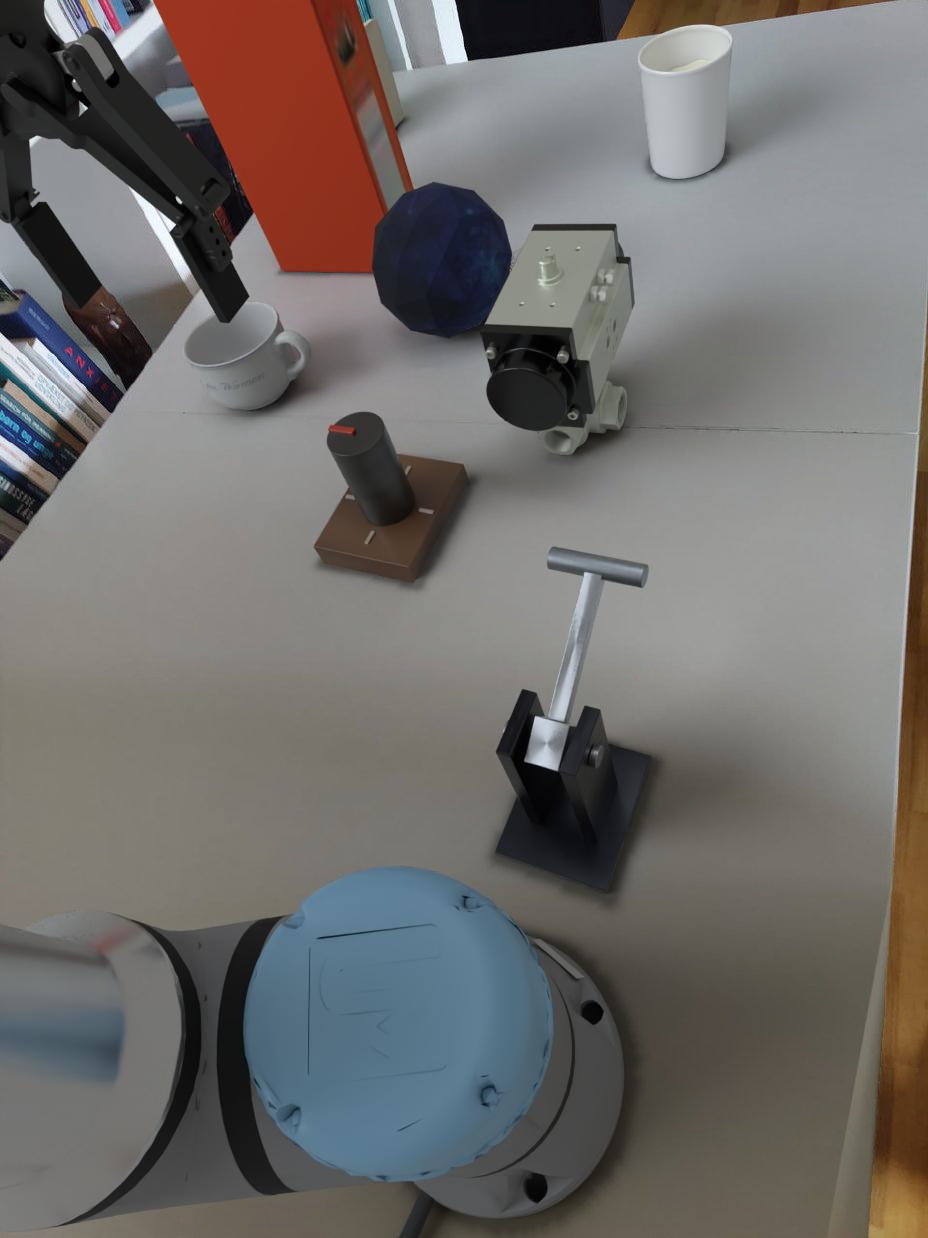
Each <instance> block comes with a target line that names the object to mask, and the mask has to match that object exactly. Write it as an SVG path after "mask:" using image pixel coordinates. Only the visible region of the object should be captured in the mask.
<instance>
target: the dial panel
mask: <svg viewBox="0 0 928 1238" xmlns="http://www.w3.org/2000/svg"><path fill="white" fill-rule="evenodd" d="M397 455H398V457H399V459H400V462H401V464H402V466H403V469H404V471H405V473H406V476H407V478H408V480H409V483H410V485H411V487H412V490H413V492H414V494H415V503H414V506H413V508H412V510H411V512H410V513H409V514H408V515H407V516H406V517H405V518H404V519H402V520H400V521H399V522H397V523H394V524H391V525H385V526H379V525H374V524H372V523H370V522H368V521H367V520H366V519H365V517H364V516H363V514H362V512H361V510H360V508H359V506H358V504H357V502H356V500H355V498H354V496H353V494H352V492H351V490H350V489H349V487H347V490H346V491H345V493H344V494H343V496H342V498H341V499H340V501H339V503H338V504H337V505H336V507H335V509H334V511H333V513H332V514H331V516H330V517H329V519H328V521H327V523H326V524H325V526H324V528H323V529H322V531H321V532H320V534H319V536H318V538H317V539H316V541H315V543H314V544H313V546H312V547H313V549H314V550H315V552H316V553H317V555H318V556H319V558H320V560H321V561H322V564H323V563H324V564H327V565H332V566H337V567H339V568H340V567H342V568H346V569H349V570H353V571H354V570H355V571H358V572H364V573H367V574H372V575H376V576H381V577H384V578H390V579H395V580H399V581H403V582H408V583H412V584H414V583H415V582H416V580H417V578H418V575H419V574H420V572H421V570H422V568H423V567H424V564H425V562H426V561H427V559H428V557H429V555H430V554H431V553H430V552H431V551H432V549H433V547H434V545H435V543H436V541H437V540H438V538H439V535H440V533H441V532H442V530H443V528H444V526H445V524H446V523H447V520H448V518H449V517H450V515H451V512H452V510H453V509H454V507H455V505H456V503H457V501H458V499H459V497H460V495H461V494H462V491H463V489H464V488H465V487H469V485H470V479H469V476H468V471H467V470H466V467H465V463H460V462H453V461H448V460H442V459H441V460H440V459H436V458H435V459H434V458H428V457H423V456H416V455H409V454H402V453H397Z"/></svg>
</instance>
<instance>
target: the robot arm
mask: <svg viewBox="0 0 928 1238" xmlns="http://www.w3.org/2000/svg"><path fill="white" fill-rule="evenodd" d="M45 1H46V0H0V221H1V222H3V223H5V224H10V225H11V226H12V229H13V230H14V231H15V232H16V234H17V235H18V236H19V237H20V239H21V240H22V242H24V245H25V246H26V247H27V249H28V250H29V251H30V253H31V254H32V256H34V258H36V260H38V262H39V264H40V265H41V266H42V268H43V269H44V270H45V272H46V273H47V275H48V276H49V277H50V279H51V280H52V281H53V283H54V284H55V285H56V287H57V288H58V289H59V291H60V293H62V295H63V296H64V298H65V299H66V301H67V302H68V304H69V305H70V306H71V307H72V308H73V310H82V309H84V307H85V306H86V304H88V303H89V302H90V300H91V299H92V298H93V297H94V296H95V294H97V292H98V291H99V290H100V289H101V288H102V287H103V283H102V282H101V281H100V279H99V278H98V276H97V275H96V273H95V272H94V270H93V269H92V267H91V266H90V264H89V263H88V261H87V260H86V258H85V257H84V255H83V254H82V252H81V251H80V250H79V247H78V246H77V245H76V243H75V242H74V241H73V239H72V238H71V236H70V234H69V233H68V232H67V230H66V229H65V227H64V226H63V224H62V223H61V221H60V220H59V218H58V217H57V215H56V214H55V213H54V210H53V209H52V208H51V207H50V205H49V204H48V202H47V201H37V202H36V203H35V204H34V205H33V206H32V204H31V203H33V202H34V200H36V198H38V197H39V196H40V194H41V192H40V191H37V189H36V188H34V187H33V177H32V176H33V174H32V173H33V172H32V160H31V145H30V144H31V143H30V140H32V139H34V138H36V137H40V138H42V139H43V138H44V139H47V140H60V141H61V142H62V143H63V144H65V145H66V146H67V147H69V148H70V149H73V150H83V151H85V152H86V153H87V154H89V155H90V156H91V157H92V158H94V159H95V160H96V161H97V162H98V163H100V164H101V165H102V166H103V167H105V168H106V169H107V170H108V171H110V172H111V173H112V174H113V175H114V176H116V177H117V178H118V180H119V179H120V181H122V182H123V183H124V184H125V185H127V186H128V187H129V188H131V190H133V191H134V192H135V193H137V195H139V196H140V197H141V198H142V199H144V200H145V201H146V202H148V204H150V205H151V206H153V207H154V208H155V209H156V210H157V211H158V212H159V213H161V214H162V215H163V216H165V217H166V218H167V219H168V220H170V221H171V222H172V223H173V224H174V226H173V227H172V228H171V230H170V231H169V235H170V237H171V238H172V241H173V242H174V244H175V246H176V247H177V249H178V251H179V253H180V254H181V256H182V258H183V260H184V261H185V263H186V265H187V267H188V268H189V271H190V272H191V274H192V276H193V278H194V279H195V281H196V283H197V284H198V286H199V288H200V290H201V292H202V293H203V296H205V299H206V300H207V302H208V304H209V306H210V307H211V309H212V311H213V313H215V314H216V316H217V318H218V320H219V321H220V323H230V322H231V320H232V319H233V318H234V316H235V315H236V314H237V312H238V311H239V310H240V309H241V307H242V306H243V305H244V303H245V302H248V300H249V298H250V297H251V295H250V294H249V292H248V290H247V288H246V286H245V285H244V283H243V281H242V278H241V277H240V275H239V273H238V270H237V268H236V267H235V265H234V263H233V259H234V256H233V251H232V248H231V247H230V245H229V243H228V241H227V239H226V237H225V235H224V233H223V231H222V228H221V227H220V225H219V223H218V221H217V219H216V217H215V215H214V214H215V212H216V211H217V210H218V209H219V208H220V207H221V205H222V204H223V203H224V202H225V200H226V199H227V198H228V197H229V196H230V195H231V186H230V185H229V183H228V182H227V181H226V180H225V178H224V177H223V176H222V175H221V174H220V173H219V172H218V170H217V169H216V168H215V167H214V166H213V164H212V163H210V161H209V160H208V159H207V158H206V156H204V154H202V152H201V151H200V150H199V149H198V148H197V146H196V145H195V144H194V143H193V142H192V141H191V140H190V138H188V137H187V136H186V135H185V133H184V132H183V131H182V129H181V128H180V127H178V125H177V124H176V123H175V122H174V121H173V119H172V118H171V117H170V116H169V115H168V114H167V113H166V111H164V109H163V108H162V107H161V106H160V105H159V104H158V102H156V101H155V99H154V98H153V97H152V96H151V95H150V93H149V92H148V91H147V90H146V89H145V88H144V86H143V85H141V84H140V82H139V81H138V80H137V79H136V78H135V77H134V75H133V74H132V73H131V72H130V71H129V69H128V68H127V67H126V64H125V63H124V61H123V60H122V58H121V57H120V55H119V54H118V51H117V50H116V48H115V46H114V44H113V43H112V41H111V40H110V38H109V37H108V35H107V34H106V32H105V31H104V30H102V29H101V28H100V27H98V26H91V27H90V28H88V30H86V31H85V32H84V33H83V34H82V35H80V36H79V37H78V38H77V39H74V40H72V41H68V42H65V41H64V40H63V39H62V38H61V37H60V35H58V33H57V32H56V31H55V30H54V29H53V27H52V26H51V25H50V23H49V22H48V19H47V18H46V13H45ZM80 103H81V104H82V105H83V106H84V107H86V109H85V110H84V111H83V112H82V113H81V105H80ZM80 113H81V114H80ZM36 191H37V192H36ZM177 198H178V200H177ZM179 200H180V202H181V203H180V202H179ZM624 1094H625V1062H624V1053H623V1047H622V1043H621V1038H620V1034H619V1031H618V1027H617V1024H616V1022H615V1019H614V1017H613V1015H612V1011H611V1009H610V1008H609V1005H608V1004H607V1002H606V999H605V997H604V996H603V994H602V992H601V991H600V989H599V988H598V987H597V985H596V984H595V982H594V981H593V979H592V978H591V976H589V974H588V973H587V972H586V971H585V970H584V969H583V967H581V966H580V964H579V963H578V962H576V961H575V960H574V959H573V958H572V957H571V956H570V955H568V954H567V953H565V952H564V951H563V950H561V949H559V948H558V947H557V946H555V945H553V944H552V943H550V942H547V941H545V940H543V939H541V938H538V937H536V936H533V935H530V934H528V933H527V934H526V933H525V932H524V931H523V930H522V928H521V927H520V926H519V925H518V924H517V922H516V921H514V919H513V918H512V916H510V915H508V914H507V913H506V912H504V910H503V909H501V908H500V907H499V906H497V904H496V903H495V902H494V901H493V900H492V899H491V898H489V897H487V895H484V894H482V893H480V892H479V891H478V890H476V889H474V888H471V887H470V886H468V885H467V884H465V883H463V882H461V881H460V880H458V879H455V878H453V877H451V876H449V875H446V874H445V873H441V872H438V871H435V870H431V869H426V868H422V867H417V866H408V865H407V866H406V865H390V866H389V865H387V866H376V867H369V868H366V869H363V870H358V871H356V872H355V871H354V872H351V873H348V874H346V875H344V876H341V877H339V878H337V879H335V880H333V881H331V882H328V883H327V884H325V885H323V886H321V887H320V888H318V889H317V890H315V891H314V892H313V893H311V894H309V896H308V897H306V898H305V899H302V901H301V902H300V905H299V909H298V911H296V912H295V913H289V914H284V915H278V916H273V917H265V918H260V919H254V920H253V919H252V920H248V921H247V920H246V921H242V922H235V923H230V924H223V925H217V926H211V927H205V928H199V929H193V930H192V929H188V930H168V929H163V928H160V927H157V926H153V925H151V924H147V923H145V922H143V921H139V920H136V919H132V918H129V917H125V916H123V915H120V914H116V913H112V912H109V911H103V910H96V909H75V910H71V911H66V912H62V913H58V914H54V915H51V916H49V917H46V918H45V917H44V918H43V919H40V920H39V921H37V922H34V923H32V924H30V925H27V926H26V927H25V928H23V929H20V928H17V927H13V926H10V925H5V924H1V923H0V1232H4V1233H31V1232H36V1231H41V1230H46V1229H52V1228H58V1227H64V1226H69V1225H73V1224H79V1223H80V1224H81V1223H84V1222H89V1221H94V1220H100V1219H105V1218H106V1219H107V1218H112V1217H117V1216H123V1215H129V1214H135V1213H140V1212H146V1211H153V1210H154V1211H155V1210H162V1209H170V1208H175V1207H185V1206H193V1205H194V1206H195V1205H201V1204H210V1203H218V1202H226V1201H237V1200H243V1199H244V1200H245V1199H252V1198H260V1197H261V1198H262V1197H270V1196H277V1195H284V1194H291V1193H304V1192H313V1191H314V1192H315V1191H323V1190H329V1189H339V1188H347V1187H357V1186H364V1185H373V1184H374V1185H375V1184H382V1183H400V1182H412V1183H413V1184H414V1185H415V1186H416V1187H417V1188H418V1189H419V1190H420V1192H419V1194H418V1196H417V1198H416V1200H415V1202H414V1204H413V1207H412V1209H411V1211H410V1213H409V1215H408V1217H407V1219H406V1221H405V1224H404V1226H403V1228H402V1230H401V1232H400V1234H399V1236H398V1238H419V1236H420V1234H421V1232H422V1230H423V1228H424V1226H425V1224H426V1221H427V1219H428V1217H429V1215H430V1212H431V1211H432V1208H433V1206H434V1205H435V1202H436V1203H438V1204H439V1205H441V1206H443V1207H445V1208H447V1209H449V1210H451V1211H454V1212H456V1213H460V1214H462V1215H465V1216H468V1217H472V1218H477V1219H484V1220H509V1219H515V1218H521V1217H526V1216H529V1215H533V1214H537V1213H539V1212H542V1211H544V1210H547V1209H549V1208H551V1207H552V1206H555V1205H556V1204H558V1203H560V1202H562V1201H564V1200H565V1198H567V1197H569V1196H570V1195H572V1194H573V1193H574V1192H575V1191H576V1190H577V1189H578V1188H580V1187H581V1186H582V1185H583V1184H584V1183H585V1181H586V1180H587V1179H588V1178H589V1177H590V1176H591V1175H592V1174H593V1172H594V1171H595V1169H596V1168H597V1166H598V1165H599V1164H600V1162H601V1161H602V1159H603V1157H604V1155H605V1154H606V1152H607V1151H608V1148H609V1146H610V1144H611V1143H612V1140H613V1138H614V1136H615V1132H616V1130H617V1126H618V1123H619V1119H620V1115H621V1112H622V1107H623V1100H624Z"/></svg>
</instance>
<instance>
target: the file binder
mask: <svg viewBox="0 0 928 1238" xmlns="http://www.w3.org/2000/svg"><path fill="white" fill-rule="evenodd" d="M152 2H153V4H154V7H155V8H156V11H157V13H158V15H159V17H160V19H161V22H162V23H163V25H164V27H165V30H166V32H167V34H168V36H169V38H170V40H171V42H172V44H173V46H174V49H175V50H176V52H177V54H178V57H179V58H180V61H181V63H182V65H183V67H184V69H185V71H186V73H187V76H188V77H189V80H190V82H191V83H192V86H193V88H194V90H195V92H196V94H197V96H198V98H199V101H200V103H201V105H202V107H203V109H204V111H205V113H206V115H207V117H208V119H209V122H210V124H211V126H212V128H213V130H214V132H215V135H216V137H217V138H218V140H219V142H220V144H221V147H222V149H223V150H224V152H225V155H226V157H227V159H228V161H229V163H230V166H231V167H232V169H233V172H234V173H235V175H236V178H237V180H238V182H239V184H240V186H241V188H242V190H243V193H244V194H245V196H246V199H247V201H248V203H249V205H250V208H251V210H252V212H253V213H254V215H255V217H256V221H258V223H259V226H260V228H261V230H262V232H263V234H264V236H265V238H266V240H267V242H268V245H269V246H270V250H271V251H272V253H273V255H274V257H275V259H276V261H277V264H278V265H279V267H280V270H281V271H282V272H289V273H290V272H292V273H293V272H295V273H297V272H298V273H299V272H300V273H354V274H355V273H356V274H357V273H358V274H359V273H360V274H361V273H363V274H365V273H366V274H373V271H372V257H373V246H374V235H375V226H376V225H377V224H378V223H379V222H380V220H381V219H382V218H383V217H384V216H385V215H386V213H387V212H388V211H389V210H390V209H391V207H392V206H393V205H394V204H395V203H396V202H397V200H398V199H399V198H400V197H401V196H402V195H403V194H404V193H406V192H409V191H411V190H414V189H415V187H414V185H413V182H412V178H411V175H410V172H409V171H410V170H409V168H408V165H407V162H406V158H405V155H404V152H403V149H402V145H401V142H400V138H399V135H398V133H397V129H396V127H395V125H394V122H393V119H392V116H391V112H390V109H389V106H388V102H387V99H386V96H385V93H384V89H383V86H382V83H381V79H380V76H379V73H378V70H377V66H376V63H375V60H374V56H373V53H372V50H371V47H370V43H369V40H368V37H367V33H366V30H365V27H364V21H363V18H362V14H361V10H360V7H359V5H358V1H357V0H152Z"/></svg>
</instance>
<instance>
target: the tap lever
mask: <svg viewBox="0 0 928 1238" xmlns="http://www.w3.org/2000/svg"><path fill="white" fill-rule="evenodd" d="M546 567H547V569H548V570H551V571H556V572H560V573H565V574H570V575H575V576H581V577H582V579H581V580H582V581H581V585H580V587H579V592H578V596H577V600H576V604H575V609H574V612H573V615H572V620H571V624H570V628H569V631H568V635H567V639H566V643H565V647H564V652H563V656H562V659H561V663H560V667H559V671H558V675H557V678H556V683H555V687H554V690H553V695H552V699H551V702H550V706H549V711H548V715H547V716H545V717H542V716H535V719H534V723H533V727H532V731H531V735H530V739H529V743H528V747H527V751H526V755H525V759H524V761H525V762H527V763H531V764H534V765H537V766H540V767H544V768H547V769H550V770H554V771H557V772H559V771H560V768H561V766H562V763H563V760H564V758H565V755H566V752H567V750H568V747H569V745H570V742H571V739H572V737H573V734H574V732H575V729H576V726H577V724H573V723H570V719H571V715H572V712H573V708H574V704H575V700H576V696H577V693H578V689H579V685H580V680H581V676H582V673H583V668H584V664H585V660H586V657H587V653H588V649H589V644H590V641H591V636H592V633H593V629H594V625H595V622H596V617H597V613H598V609H599V605H600V602H601V598H602V593H603V589H604V585H605V582H610V583H615V584H620V585H625V586H628V587H629V586H630V587H635V588H640V589H644V588H645V586H646V584H647V582H648V578H649V573H650V572H649V571H650V570H649V569H650V567H649V564H647V563H643V562H637V561H633V560H628V559H627V560H626V559H622V558H617V557H611V556H606V555H601V554H595V553H592V552H591V553H590V552H585V551H580V550H574V549H569V548H564V547H559V546H551V548H550V549H549V551H548V554H547V557H546Z"/></svg>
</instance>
